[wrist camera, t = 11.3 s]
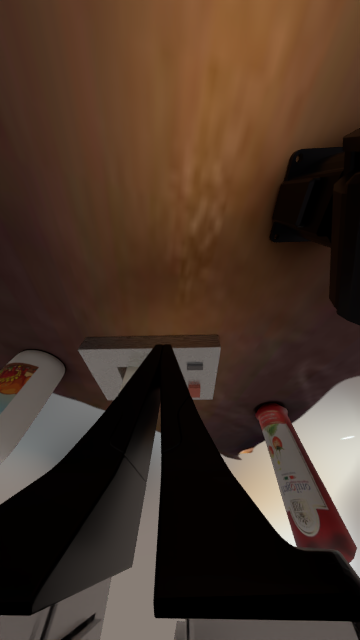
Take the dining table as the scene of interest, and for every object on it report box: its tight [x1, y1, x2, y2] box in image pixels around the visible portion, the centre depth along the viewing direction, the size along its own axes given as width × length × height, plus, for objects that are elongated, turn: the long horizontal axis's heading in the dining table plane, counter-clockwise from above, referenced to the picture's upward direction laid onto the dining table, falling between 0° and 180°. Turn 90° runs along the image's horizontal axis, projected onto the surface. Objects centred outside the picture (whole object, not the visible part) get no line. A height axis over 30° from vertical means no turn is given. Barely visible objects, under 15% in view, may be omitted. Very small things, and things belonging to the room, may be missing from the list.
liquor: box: [255, 403, 357, 563], centre depth 27 cm, size 7×7×28 cm
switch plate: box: [78, 335, 221, 400], centre depth 28 cm, size 20×14×3 cm
